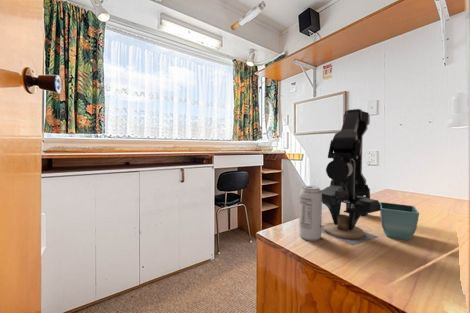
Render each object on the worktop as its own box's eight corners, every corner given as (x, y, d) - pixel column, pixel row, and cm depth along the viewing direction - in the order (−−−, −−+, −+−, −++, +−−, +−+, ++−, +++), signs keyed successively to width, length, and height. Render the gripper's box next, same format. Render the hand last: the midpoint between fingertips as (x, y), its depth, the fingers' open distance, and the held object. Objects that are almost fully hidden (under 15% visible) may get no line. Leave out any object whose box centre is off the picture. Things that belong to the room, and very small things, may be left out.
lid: (316, 229, 69) (316, 213, 69) (339, 223, 74) (339, 209, 74) (348, 242, 59) (348, 224, 59) (371, 235, 64) (372, 218, 64)
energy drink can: (325, 241, 60) (326, 188, 60) (305, 243, 59) (306, 189, 59) (313, 233, 66) (314, 185, 66) (295, 235, 65) (296, 185, 65)
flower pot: (418, 245, 58) (419, 212, 58) (379, 238, 63) (380, 208, 63) (413, 234, 66) (414, 205, 65) (378, 229, 70) (379, 201, 70)
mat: (311, 229, 70) (311, 227, 70) (336, 223, 76) (336, 222, 76) (352, 246, 58) (352, 244, 58) (378, 237, 63) (378, 236, 63)
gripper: (302, 175, 71) (301, 222, 71) (357, 183, 54) (356, 244, 55) (325, 173, 76) (324, 217, 76) (382, 180, 59) (381, 236, 60)
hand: (343, 227), depth 67 cm, fingers open, 5 cm apart
